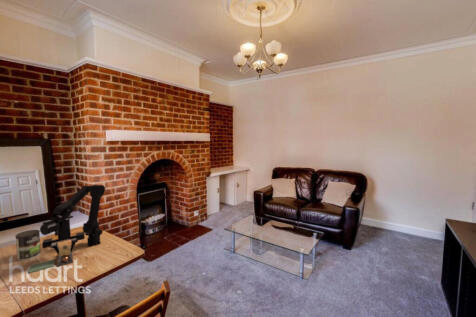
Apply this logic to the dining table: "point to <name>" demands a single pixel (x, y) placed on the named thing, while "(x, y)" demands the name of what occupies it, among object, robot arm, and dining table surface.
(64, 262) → the body
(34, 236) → the coffee can
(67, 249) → the tan rectangular block
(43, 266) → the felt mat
